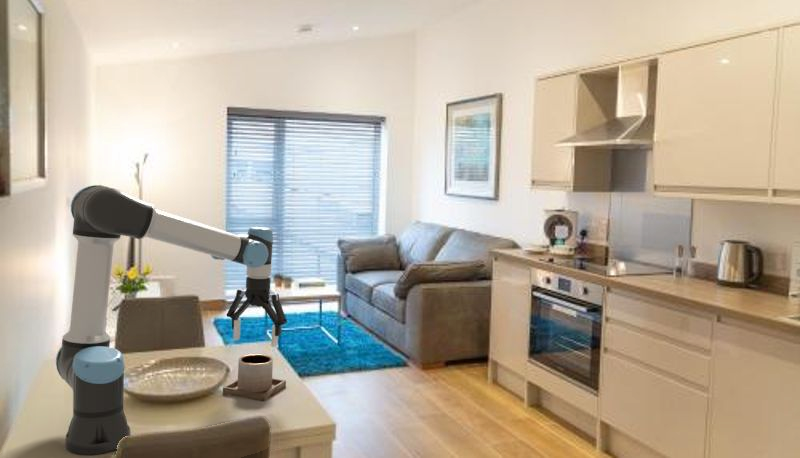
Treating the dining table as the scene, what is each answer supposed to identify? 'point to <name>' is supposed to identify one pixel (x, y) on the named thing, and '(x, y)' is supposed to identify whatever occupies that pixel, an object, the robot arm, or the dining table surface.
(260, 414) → the dining table surface
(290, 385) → the dining table surface
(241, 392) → the tray
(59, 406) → the dining table surface
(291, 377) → the dining table surface
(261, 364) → the planter
